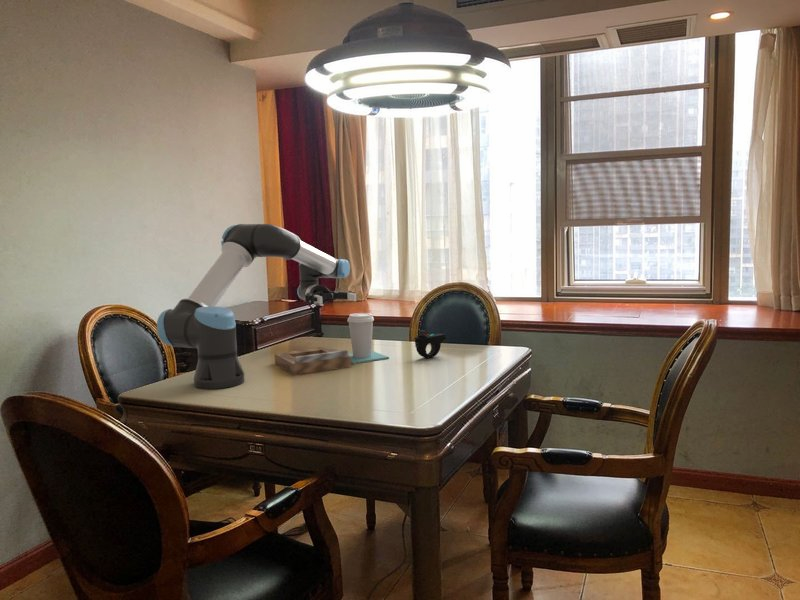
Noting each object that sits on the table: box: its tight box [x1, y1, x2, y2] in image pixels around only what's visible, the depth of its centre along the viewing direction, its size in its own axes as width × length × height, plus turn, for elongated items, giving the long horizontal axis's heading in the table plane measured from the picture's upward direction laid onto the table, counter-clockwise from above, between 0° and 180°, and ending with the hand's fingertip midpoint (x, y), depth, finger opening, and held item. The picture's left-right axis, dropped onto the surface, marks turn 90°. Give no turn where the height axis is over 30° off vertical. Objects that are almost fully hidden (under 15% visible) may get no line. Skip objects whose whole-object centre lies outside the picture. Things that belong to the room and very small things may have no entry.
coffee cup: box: [346, 312, 375, 358], centre depth 227 cm, size 10×10×15 cm
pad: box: [348, 350, 390, 365], centre depth 228 cm, size 14×14×1 cm
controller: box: [414, 329, 447, 359], centre depth 224 cm, size 4×12×10 cm, turn 125°
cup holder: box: [274, 346, 352, 375], centre depth 218 cm, size 20×20×6 cm
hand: (338, 298), depth 236 cm, fingers open, 13 cm apart
